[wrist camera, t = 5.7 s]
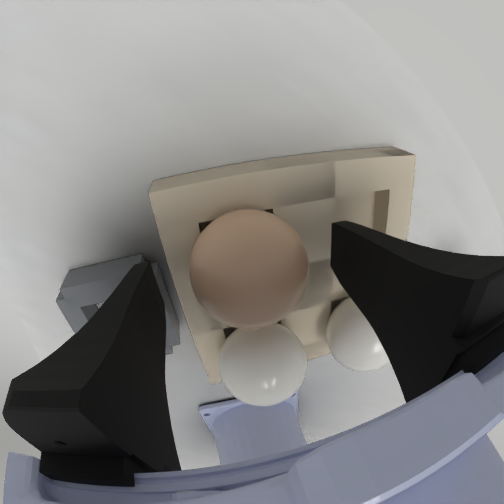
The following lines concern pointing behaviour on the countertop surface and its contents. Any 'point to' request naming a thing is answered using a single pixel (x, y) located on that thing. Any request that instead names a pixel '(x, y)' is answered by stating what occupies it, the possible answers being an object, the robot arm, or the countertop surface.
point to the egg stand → (108, 293)
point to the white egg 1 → (262, 364)
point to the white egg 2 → (354, 339)
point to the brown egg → (249, 269)
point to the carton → (295, 214)
